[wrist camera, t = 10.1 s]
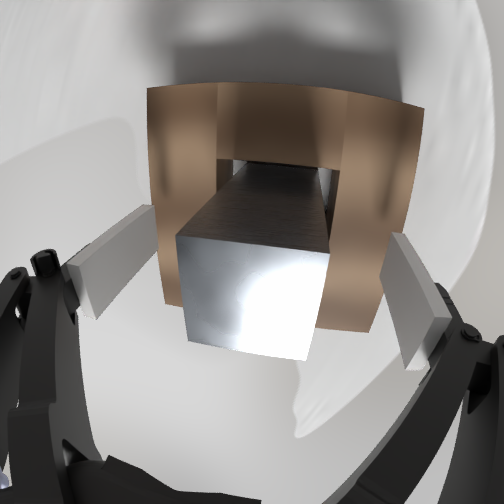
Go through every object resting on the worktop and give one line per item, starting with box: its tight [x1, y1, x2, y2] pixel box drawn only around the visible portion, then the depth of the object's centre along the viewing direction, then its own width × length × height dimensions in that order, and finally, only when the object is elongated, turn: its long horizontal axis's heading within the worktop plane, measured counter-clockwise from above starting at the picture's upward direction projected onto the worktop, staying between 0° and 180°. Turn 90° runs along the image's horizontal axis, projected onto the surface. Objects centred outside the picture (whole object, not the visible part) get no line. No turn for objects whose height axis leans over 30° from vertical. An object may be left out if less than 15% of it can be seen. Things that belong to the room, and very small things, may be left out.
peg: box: [175, 163, 330, 360], centre depth 15 cm, size 5×5×12 cm
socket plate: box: [147, 82, 424, 333], centre depth 19 cm, size 16×16×4 cm
